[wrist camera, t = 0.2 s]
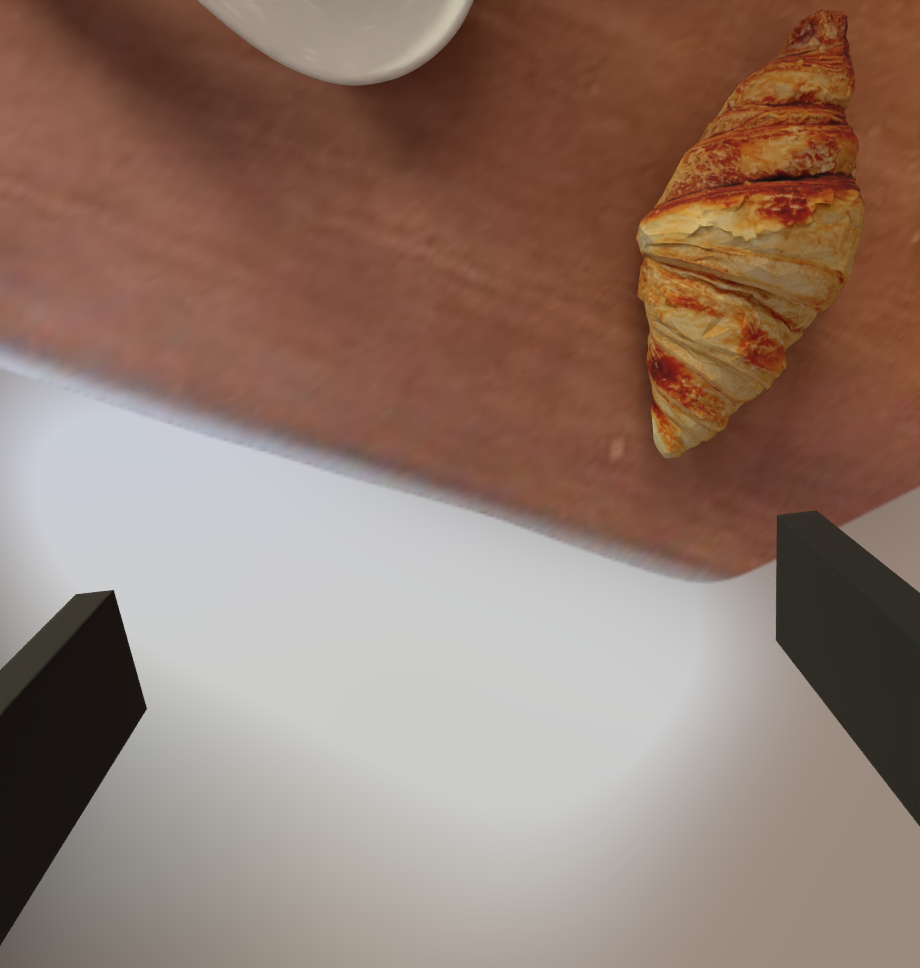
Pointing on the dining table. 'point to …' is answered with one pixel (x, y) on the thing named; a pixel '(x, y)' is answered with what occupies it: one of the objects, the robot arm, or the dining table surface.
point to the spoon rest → (345, 34)
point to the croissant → (751, 236)
